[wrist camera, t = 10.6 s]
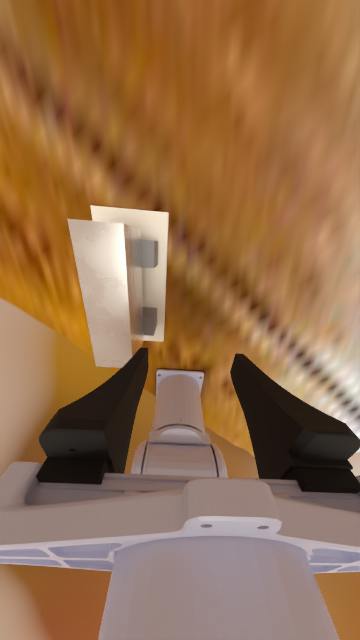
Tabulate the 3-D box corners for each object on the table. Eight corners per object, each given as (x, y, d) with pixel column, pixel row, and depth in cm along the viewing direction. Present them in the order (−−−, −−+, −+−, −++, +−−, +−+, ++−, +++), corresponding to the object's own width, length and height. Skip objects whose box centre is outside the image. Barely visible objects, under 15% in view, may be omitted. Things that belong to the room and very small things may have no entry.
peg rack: (164, 338, 24) (161, 354, 21) (111, 334, 24) (99, 350, 21) (169, 214, 18) (166, 206, 14) (95, 207, 17) (72, 197, 14)
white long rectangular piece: (143, 340, 20) (132, 368, 15) (115, 338, 20) (96, 366, 15) (140, 229, 15) (123, 223, 10) (102, 226, 15) (67, 218, 10)
